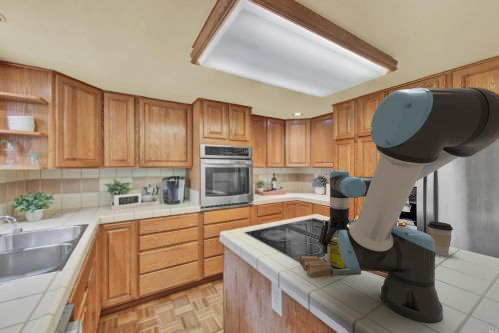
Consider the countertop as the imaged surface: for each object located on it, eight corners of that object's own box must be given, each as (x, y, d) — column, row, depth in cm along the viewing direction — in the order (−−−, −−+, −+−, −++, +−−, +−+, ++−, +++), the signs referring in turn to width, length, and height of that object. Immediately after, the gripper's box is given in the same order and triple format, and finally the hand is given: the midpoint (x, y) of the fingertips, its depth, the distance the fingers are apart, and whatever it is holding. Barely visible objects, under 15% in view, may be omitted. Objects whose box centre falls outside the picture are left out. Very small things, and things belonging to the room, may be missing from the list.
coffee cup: (458, 258, 98) (458, 226, 98) (435, 257, 99) (435, 225, 99) (444, 251, 107) (444, 221, 107) (422, 249, 109) (423, 220, 109)
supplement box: (343, 271, 84) (344, 243, 84) (328, 266, 87) (329, 240, 88) (347, 266, 88) (348, 240, 88) (333, 261, 92) (333, 237, 92)
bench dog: (330, 275, 81) (330, 264, 81) (311, 277, 80) (311, 265, 80) (326, 271, 84) (326, 260, 84) (307, 273, 83) (307, 262, 83)
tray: (361, 273, 83) (361, 268, 83) (333, 276, 81) (333, 271, 81) (343, 260, 95) (343, 256, 95) (318, 262, 93) (318, 257, 93)
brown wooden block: (323, 272, 85) (323, 264, 85) (306, 272, 85) (306, 264, 85) (317, 263, 93) (317, 256, 93) (301, 263, 93) (301, 256, 93)
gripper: (357, 205, 93) (357, 254, 93) (310, 206, 90) (309, 257, 90) (369, 208, 86) (369, 262, 86) (318, 209, 82) (318, 266, 82)
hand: (338, 260), depth 88 cm, fingers open, 10 cm apart
